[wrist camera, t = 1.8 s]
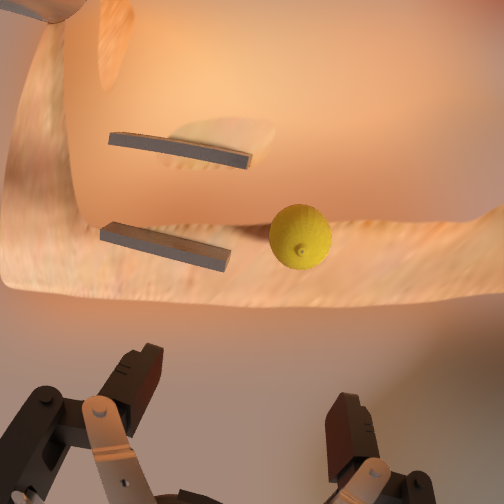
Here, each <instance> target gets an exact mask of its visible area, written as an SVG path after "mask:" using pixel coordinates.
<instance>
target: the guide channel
mask: <svg viewBox="0 0 504 504" xmlns="http://www.w3.org/2000/svg"><path fill="white" fill-rule="evenodd" d="M108 144H109V145H116V146H123V147H130V148H136V149H143V150H148V151H154V152H160V153H166V154H172V155H177V156H183V157H188V158H193V159H198V160H203V161H208V162H213V163H218V164H223V165H228V166H232V167H237V168H241V169H247V168H249V167H250V163H251V159H252V154H247V153H243V152H238V151H233V150H228V149H223V148H219V147H213V146H208V145H203V144H198V143H192V142H186V141H181V140H175V139H169V138H162V137H155V136H149V135H141V134H135V133H127V132H113V133H110V136H109V142H108ZM100 240H102V241H106V242H110V243H113V244H117V245H121V246H124V247H128V248H132V249H135V250H139V251H143V252H147V253H150V254H154V255H158V256H162V257H165V258H169V259H173V260H177V261H181V262H185V263H189V264H192V265H196V266H200V267H204V268H208V269H212V270H216V271H220V272H225V269H226V267H227V265H228V262H229V259H230V254H231V250H227V249H222V248H218V247H214V246H210V245H206V244H202V243H198V242H194V241H190V240H186V239H182V238H178V237H174V236H170V235H165V234H161V233H157V232H153V231H149V230H145V229H141V228H137V227H133V226H129V225H125V224H121V223H117V222H112V223H110V224H108V225H107V226H105V227H103V228H102V229H100Z"/></svg>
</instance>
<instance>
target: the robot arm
mask: <svg viewBox="0 0 504 504" xmlns="http://www.w3.org/2000/svg"><path fill="white" fill-rule="evenodd" d="M86 1H87V0H0V9H3V10H7V11H11V12H15V13H18V14H22V15H25V16H29V17H32V18H36V19H38V20H41V21H45V22H49V23H58V22H61V21H64V20H65V19H67V18H69V17H70V16H72V15H73V14H75V13H76V12H77V11H78V10H79V9H80V8H81V7H82V6H83V5H84V3H85V2H86ZM163 352H164V350H163V348H162V347H159V346H156V345H153V344H150V343H147V344H146V345H145V346H144V348H143V349H142V351H141V352H138V351H135V350H132V351H130V352H129V353H127V354H125V355H124V356H123V357H122V359H121V360H120V362H119V364H118V365H117V366H116V368H115V370H114V371H113V372H112V374H111V375H110V377H109V378H108V380H107V381H106V383H105V384H104V386H103V387H102V389H101V390H100V392H99V393H98V395H96V396H92V397H89V398H88V399H86V400H83V401H80V400H73V399H67V398H63V397H62V394H61V393H60V392H59V391H58V390H57V389H56V388H54V387H51V386H41V387H38V388H36V389H35V390H34V391H33V392H32V393H31V395H30V396H29V397H28V399H27V400H26V402H25V403H24V405H23V406H22V407H21V409H20V411H19V412H18V413H17V415H16V416H15V418H14V419H13V421H12V422H11V424H10V425H9V426H8V428H7V430H6V431H5V433H4V434H3V436H2V437H1V439H0V504H45V503H44V501H45V499H46V497H47V494H48V492H49V490H50V488H51V486H52V484H53V482H54V479H55V477H56V475H57V473H58V471H59V469H60V467H61V465H62V463H63V461H64V459H65V457H66V455H67V452H68V451H69V449H70V447H71V446H75V447H80V448H86V449H92V452H93V456H94V459H95V463H96V466H97V469H98V472H99V476H100V479H101V481H102V485H103V487H104V490H105V493H106V495H107V498H108V501H109V504H223V503H220V502H218V501H216V500H214V499H211V498H209V497H207V496H204V495H200V494H196V493H192V492H188V491H185V490H181V489H180V490H179V494H178V495H177V494H176V495H175V494H165V495H158V496H153V494H152V491H151V490H150V487H149V485H148V482H147V480H146V478H145V476H144V473H143V471H142V469H141V466H140V464H139V461H138V459H137V456H136V454H135V452H134V450H133V449H131V447H130V444H129V442H128V439H127V436H129V437H131V438H132V437H133V435H134V433H135V431H136V429H137V427H138V425H139V422H140V420H141V418H142V416H143V414H144V412H145V410H146V408H147V406H148V404H149V402H150V400H151V398H152V396H153V393H154V391H155V389H156V387H157V385H158V383H159V380H160V377H161V371H162V361H163ZM325 432H326V444H327V460H328V476H329V482H331V483H338V488H337V489H336V490H335V491H334V492H333V493H332V495H331V496H330V497H329V498H328V499H327V500H326V502H324V503H323V504H436V501H435V496H434V491H433V486H432V481H431V479H430V477H429V476H428V475H427V474H426V473H424V472H422V471H413V472H411V473H410V474H408V475H407V476H406V475H402V474H399V473H395V472H392V471H391V470H390V467H389V465H388V464H387V463H386V462H385V461H384V460H382V459H380V455H379V450H378V446H377V441H376V436H375V433H374V427H373V422H372V418H371V415H370V413H369V412H368V410H367V409H366V407H364V406H361V405H360V401H359V397H358V395H356V394H350V393H344V392H342V393H340V395H339V396H338V398H337V400H336V401H335V403H334V404H333V406H332V407H331V409H330V411H329V412H328V414H327V416H326V420H325Z"/></svg>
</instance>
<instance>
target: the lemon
mask: <svg viewBox="0 0 504 504" xmlns="http://www.w3.org/2000/svg"><path fill="white" fill-rule="evenodd" d="M269 241H270V246H271V249H272V251H273V253H274V255H275V256H276V258H277V259H278V260H279V261H280V262H281V263H282V264H284V265H285V266H287V267H289V268H292V269H296V270H306V269H310V268H312V267H314V266H316V265H318V264H319V263H320V262H321V261H323V260H324V258H325V257H326V255H327V254H328V251H329V248H330V246H331V230H330V226H329V224H328V222H327V220H326V218H325V217H324V216H323V215H322V213H321V212H319V211H318V210H316V209H315V208H313V207H311V206H308V205H302V204H297V205H291V206H289V207H286V208H284V209H283V210H282V211H281V212H279V213H278V214H277V216H276V217H275V218H274V220H273V222H272V224H271V226H270V231H269Z"/></svg>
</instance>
